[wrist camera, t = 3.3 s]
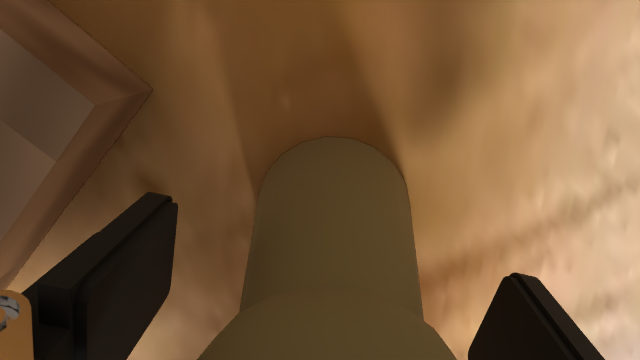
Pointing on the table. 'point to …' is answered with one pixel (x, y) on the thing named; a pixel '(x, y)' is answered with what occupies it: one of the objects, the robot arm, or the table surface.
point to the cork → (331, 264)
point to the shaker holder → (52, 120)
